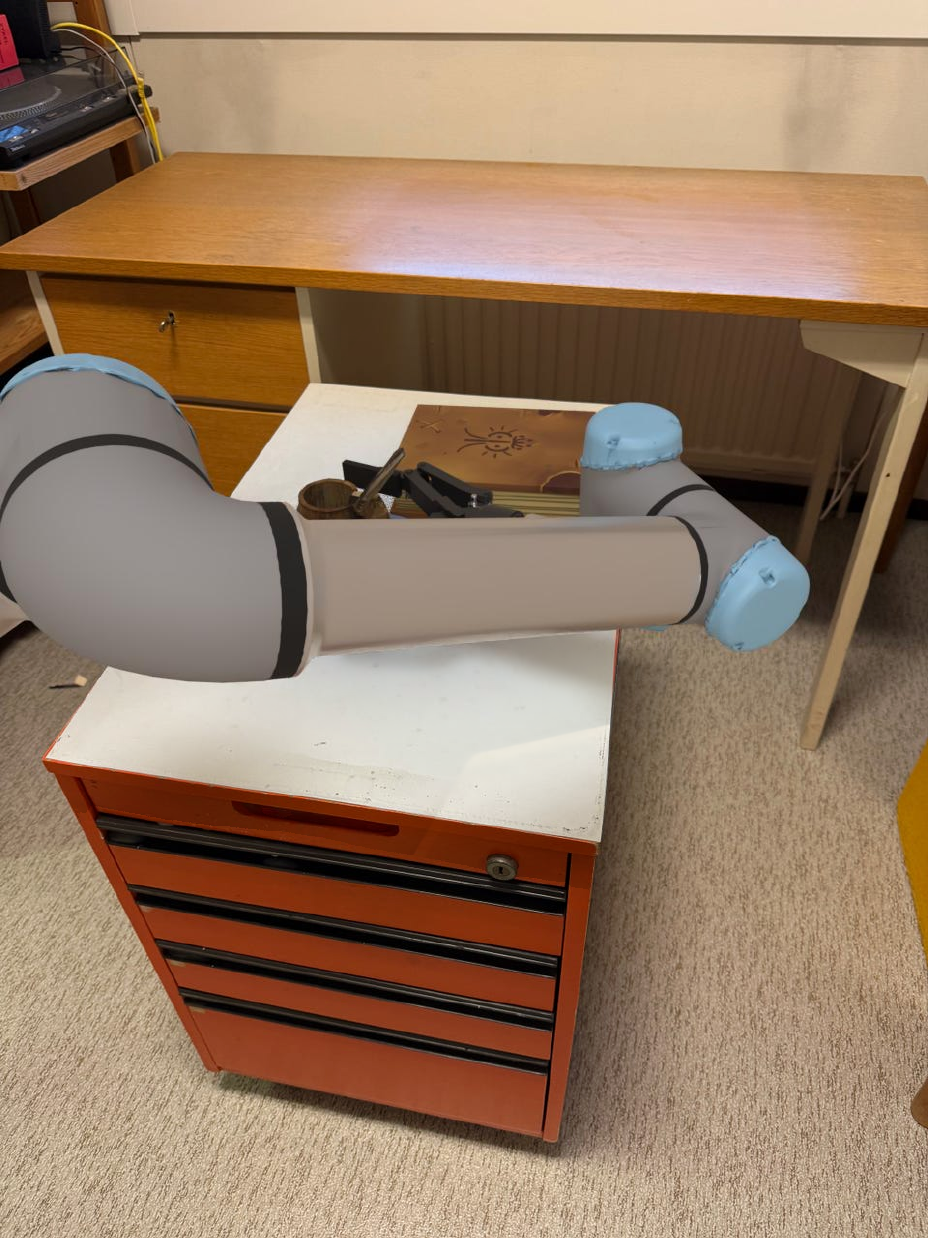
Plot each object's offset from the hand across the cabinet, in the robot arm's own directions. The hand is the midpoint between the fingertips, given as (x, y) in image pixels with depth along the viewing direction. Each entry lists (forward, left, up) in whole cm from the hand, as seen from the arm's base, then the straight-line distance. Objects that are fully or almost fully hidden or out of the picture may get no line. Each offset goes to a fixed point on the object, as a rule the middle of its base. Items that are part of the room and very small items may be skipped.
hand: (314, 500), depth 88 cm
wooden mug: (+3, -3, -10) cm, 11 cm away
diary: (+23, +14, -11) cm, 29 cm away
